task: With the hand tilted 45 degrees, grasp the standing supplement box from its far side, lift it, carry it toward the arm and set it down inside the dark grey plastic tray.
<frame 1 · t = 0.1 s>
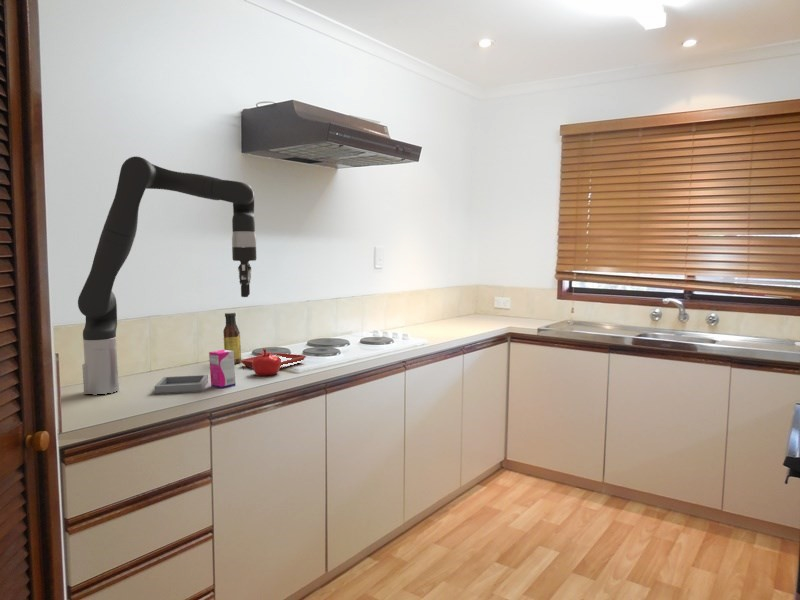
hand: (245, 296, 193), 29 cm above the table, tool pointing down, fingers open, 8 cm apart
pomegranate: (266, 375, 211), on the table
sauce bottle: (233, 363, 233), on the table
tray: (182, 387, 192), on the table
plant saucer: (274, 366, 228), on the table
supplement box: (223, 386, 194), on the table
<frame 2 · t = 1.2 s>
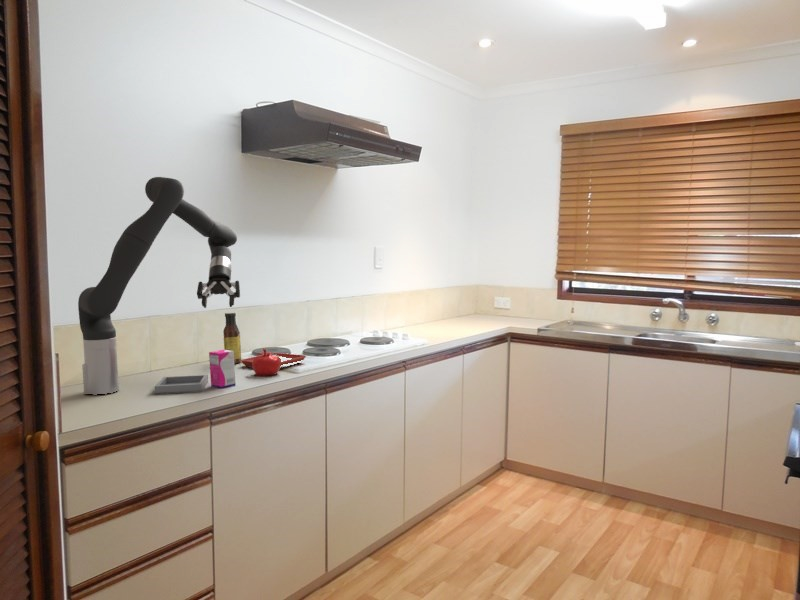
hand: (217, 305, 203), 25 cm above the table, tool tilted 45°, fingers open, 8 cm apart
nothing on the table moved.
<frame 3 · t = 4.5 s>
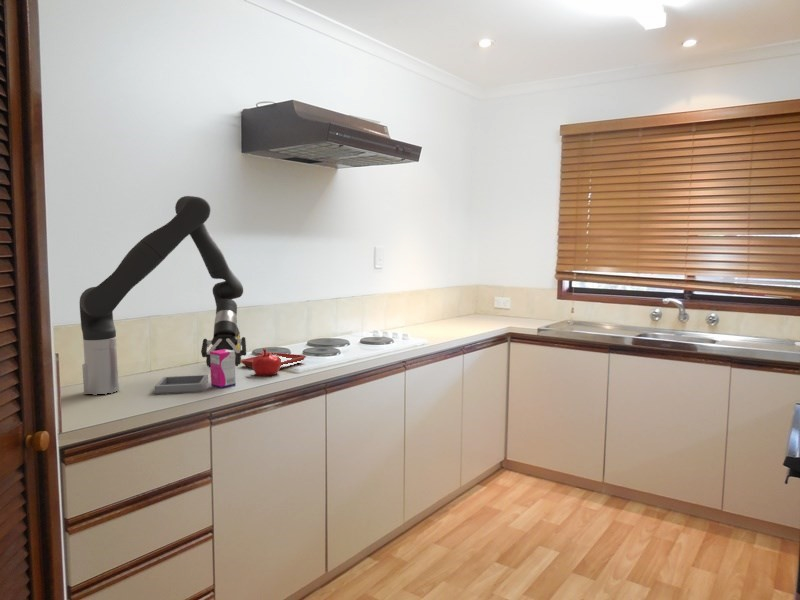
hand: (223, 365, 194), 7 cm above the table, tool tilted 45°, fingers open, 8 cm apart
supplement box: (223, 386, 194), on the table, touching gripper
everything else where it was.
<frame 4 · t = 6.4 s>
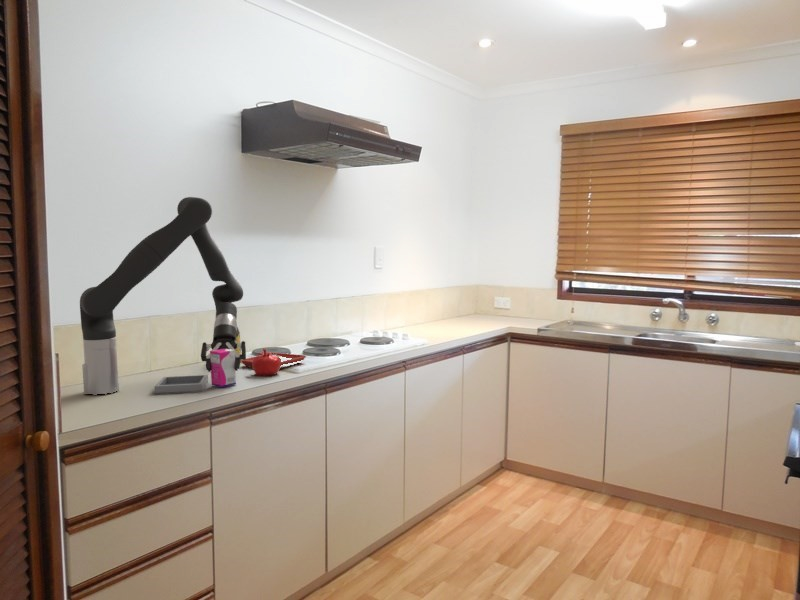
hand: (222, 369, 192), 6 cm above the table, tool tilted 45°, fingers closed on supplement box, 8 cm apart
supplement box: (223, 385, 194), on the table, touching gripper
everything else where it was.
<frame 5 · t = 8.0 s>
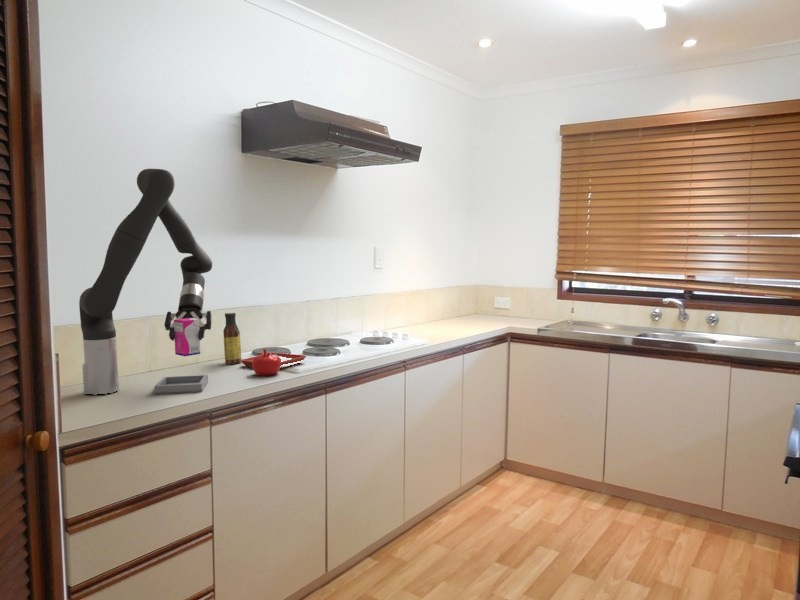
hand: (186, 338, 189), 16 cm above the table, tool tilted 45°, fingers closed on supplement box, 8 cm apart
supplement box: (187, 354, 191), point 11 cm above the table, touching gripper
everything else where it was.
when the fingers open (7 cm above the table, at t = 10.7 s): supplement box drops 1 cm, resting on tray.
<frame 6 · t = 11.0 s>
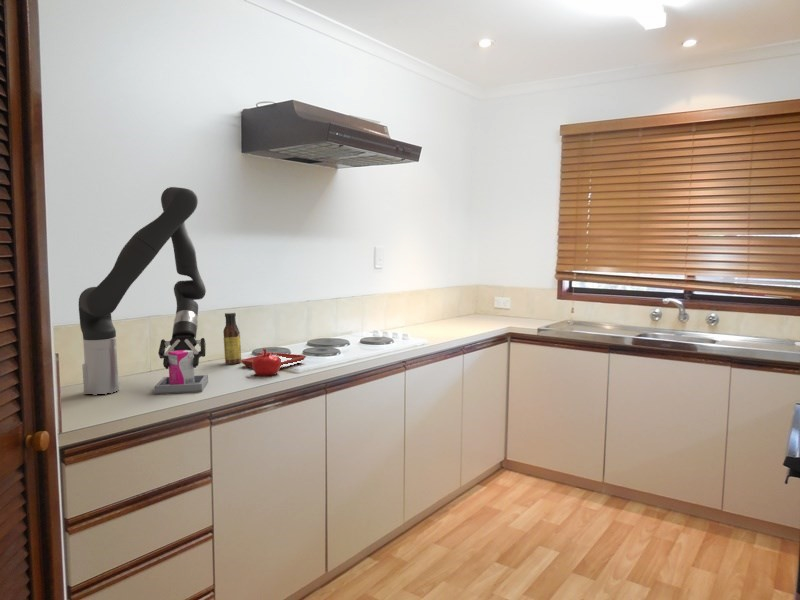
hand: (180, 367, 190), 7 cm above the table, tool tilted 45°, fingers open, 8 cm apart
supplement box: (182, 386, 192), resting on tray, touching gripper
everything else where it was.
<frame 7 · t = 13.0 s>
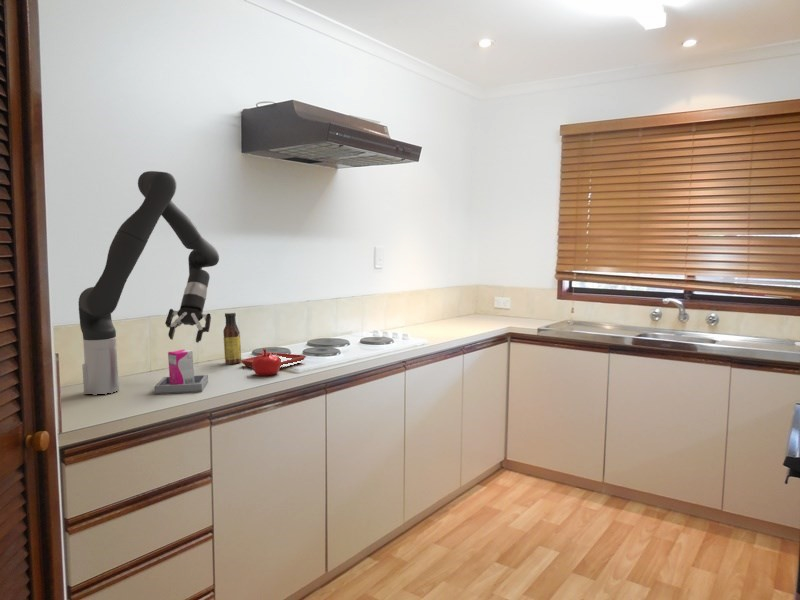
hand: (184, 340, 201), 14 cm above the table, tool tilted 30°, fingers open, 8 cm apart
supplement box: (182, 386, 192), resting on tray
everything else where it was.
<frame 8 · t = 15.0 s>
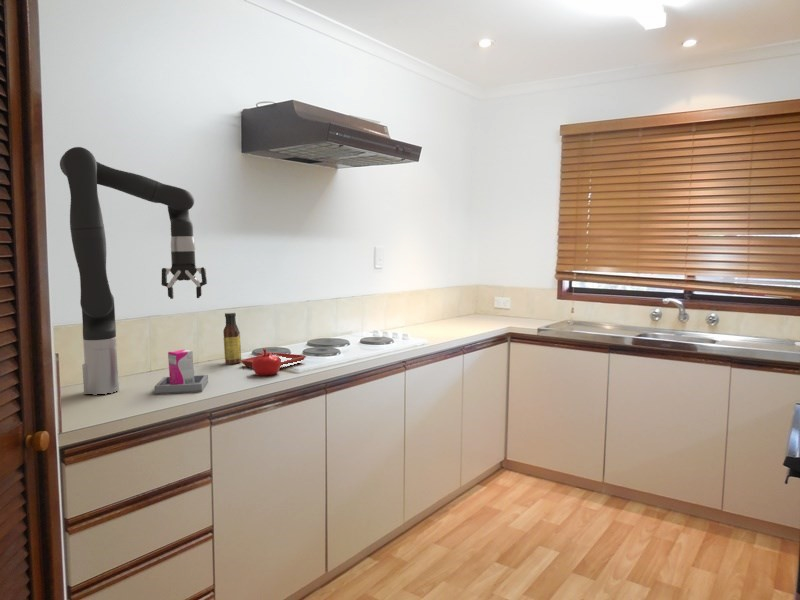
hand: (185, 298, 201), 28 cm above the table, tool pointing down, fingers open, 8 cm apart
nothing on the table moved.
at the end: supplement box inside the target area on the tray (0.5 cm from its centre), point 0.3 cm above the tray's base; supplement box tilted 0°; the gripper is holding nothing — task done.
